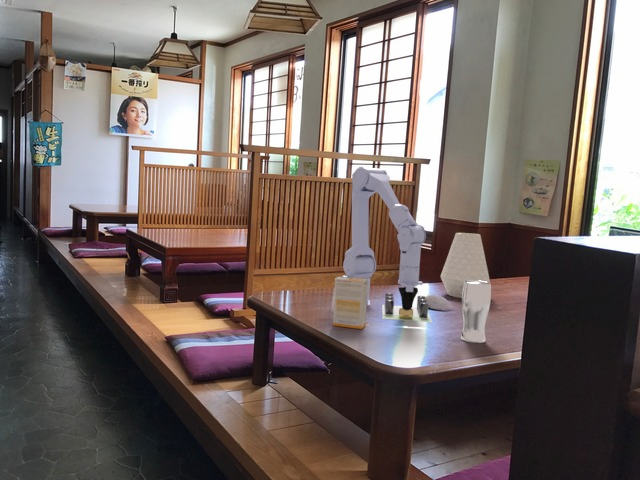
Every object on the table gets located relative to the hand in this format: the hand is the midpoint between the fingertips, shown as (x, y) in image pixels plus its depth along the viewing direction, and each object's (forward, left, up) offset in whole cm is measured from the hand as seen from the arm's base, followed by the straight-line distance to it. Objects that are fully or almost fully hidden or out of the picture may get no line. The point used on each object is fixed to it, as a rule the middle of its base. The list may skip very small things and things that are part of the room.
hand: (406, 312), depth 162 cm
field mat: (0, +4, -2) cm, 4 cm away
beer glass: (+16, -20, -2) cm, 26 cm away
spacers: (0, +6, -1) cm, 6 cm away
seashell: (+11, +16, -2) cm, 19 cm away
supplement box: (-16, -15, -2) cm, 22 cm away
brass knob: (0, -3, -1) cm, 3 cm away
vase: (+23, +44, -2) cm, 50 cm away
